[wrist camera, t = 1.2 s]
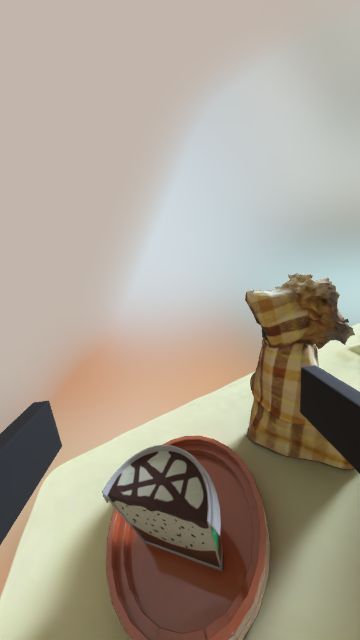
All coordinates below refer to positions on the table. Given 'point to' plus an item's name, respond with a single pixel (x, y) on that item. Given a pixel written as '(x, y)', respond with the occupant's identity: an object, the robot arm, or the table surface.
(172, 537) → the food container
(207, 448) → the terracotta plant saucer
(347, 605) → the table surface
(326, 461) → the plaid fabric bag
